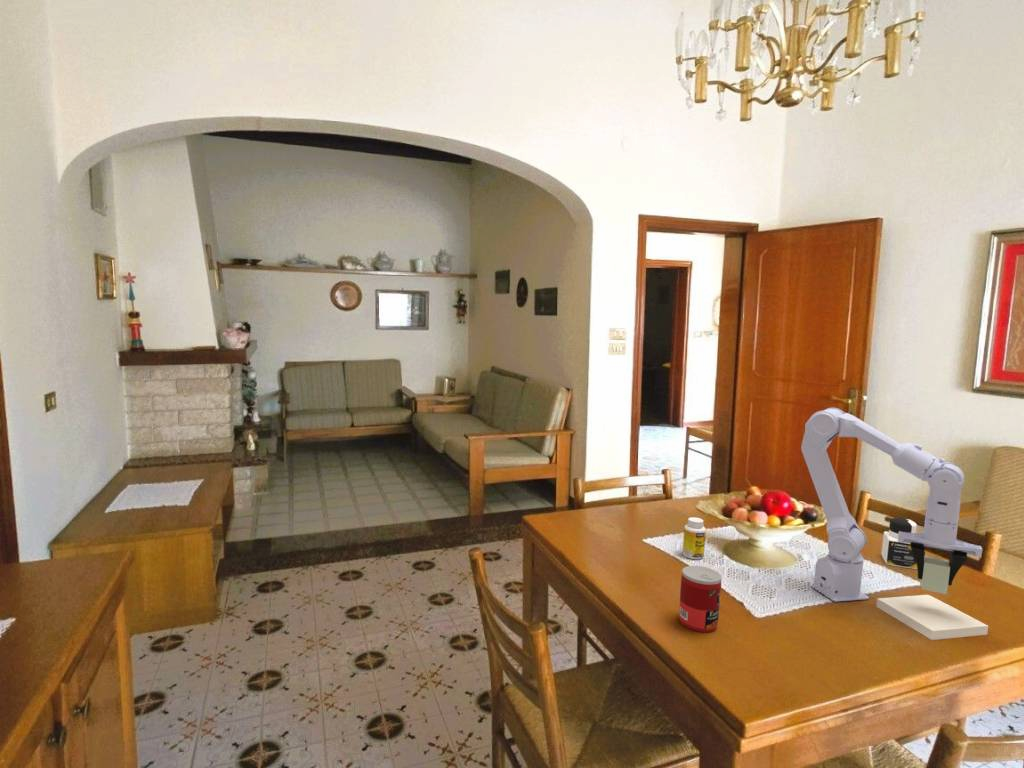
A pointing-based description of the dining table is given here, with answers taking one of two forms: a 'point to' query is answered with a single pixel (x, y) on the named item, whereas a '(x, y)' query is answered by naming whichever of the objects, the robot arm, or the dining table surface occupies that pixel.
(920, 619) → the cream slab
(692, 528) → the supplement bottle
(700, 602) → the canned food
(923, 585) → the sage block
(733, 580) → the dining table surface
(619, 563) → the dining table surface
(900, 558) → the medicine bottle
